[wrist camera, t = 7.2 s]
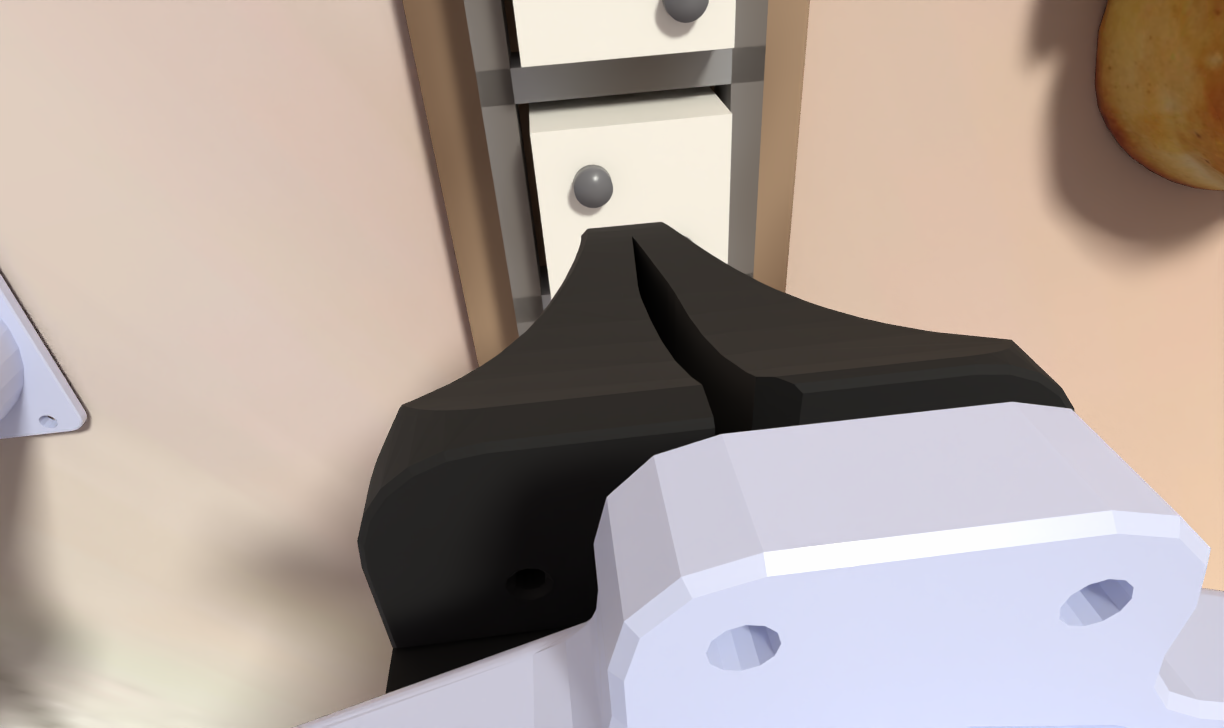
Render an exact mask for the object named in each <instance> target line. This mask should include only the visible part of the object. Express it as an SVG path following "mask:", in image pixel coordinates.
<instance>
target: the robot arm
mask: <svg viewBox="0 0 1224 728" xmlns="http://www.w3.org/2000/svg"><path fill="white" fill-rule="evenodd" d="M48 416H51V417H53V418H55V419H56V420H53V419H51V418H49V417H48ZM86 419H87V414H86V411H85V410H84V408H83V407H82V405H81V403H80V402H79V400H78V399H77V397H76V395H75V394H74V392H73V390H72V389H71V387H70V386H69V384H68V382H67V381H66V379H65V378H64V376H63V374H62V373H61V371H60V369H59V368H58V366H57V365H56V363H55V361H54V360H53V358H52V357H51V355H50V353H49V352H48V350H47V348H46V347H45V345H44V344H43V342H42V340H41V339H40V337H39V336H38V334H37V332H36V331H35V329H34V327H33V326H32V324H31V323H30V321H29V319H28V318H27V316H26V315H25V313H24V311H23V310H22V308H21V306H20V305H19V303H18V302H17V300H16V298H15V297H14V295H13V294H12V292H11V290H10V289H9V287H8V285H7V284H6V282H5V281H4V279H3V277H2V276H1V274H0V439H5V438H14V437H23V436H32V435H41V434H50V433H58V432H67V431H74V430H78V429H79V428H80V427H81V426H82V425H83V424H84V423H85V421H86ZM357 542H358V548H359V553H360V559H361V565H362V569H363V571H364V574H365V576H366V579H367V582H368V584H369V587H370V589H371V592H372V595H373V597H374V600H375V603H376V605H377V608H378V610H379V613H380V616H381V618H382V621H383V623H384V626H385V629H386V631H387V634H388V636H389V639H390V642H391V644H392V647H393V651H392V658H391V664H390V670H389V676H388V682H387V689H386V694H384V695H381V696H379V697H376V698H373V699H370V700H368V701H365V702H362V703H359V704H356V705H354V706H351V707H348V708H345V709H343V710H340V711H337V712H334V713H331V714H329V715H326V716H323V717H320V718H317V719H315V720H312V721H309V722H306V723H304V724H301V725H298V726H295V727H292V728H1224V591H1220V590H1213V589H1206V588H1202V584H1203V580H1204V576H1205V573H1206V569H1207V564H1208V559H1209V555H1210V550H1211V548H1210V547H1209V546H1208V545H1207V544H1206V543H1205V542H1204V541H1203V539H1202V538H1201V537H1200V536H1199V535H1198V534H1197V533H1196V532H1195V531H1194V530H1193V529H1192V528H1191V527H1190V526H1189V525H1188V524H1187V523H1186V522H1185V520H1184V519H1183V518H1182V517H1181V516H1180V515H1179V514H1178V513H1177V512H1176V511H1175V510H1174V509H1173V508H1172V507H1171V506H1170V505H1169V504H1168V503H1167V502H1166V501H1165V500H1163V499H1162V498H1161V497H1160V496H1159V495H1158V494H1157V493H1156V492H1155V491H1154V490H1153V489H1152V488H1151V487H1150V486H1149V485H1148V484H1147V483H1146V482H1145V481H1144V480H1143V479H1142V478H1141V477H1140V476H1139V475H1138V474H1137V473H1136V472H1135V471H1134V470H1133V469H1132V468H1131V467H1130V466H1129V465H1128V464H1127V463H1126V462H1125V461H1124V460H1123V459H1122V458H1121V457H1120V456H1119V455H1118V454H1117V453H1116V452H1115V451H1114V450H1113V449H1112V448H1111V447H1109V446H1108V445H1107V444H1106V443H1105V442H1104V441H1103V440H1102V439H1101V438H1100V437H1099V436H1098V435H1097V434H1096V433H1095V432H1094V431H1093V430H1092V429H1091V428H1090V427H1089V426H1088V425H1087V424H1086V423H1085V422H1084V421H1083V420H1082V419H1081V418H1080V417H1079V416H1078V415H1077V414H1076V413H1075V412H1074V408H1073V406H1072V404H1071V403H1070V401H1069V399H1068V398H1067V396H1066V394H1065V393H1064V391H1063V389H1062V388H1061V387H1060V386H1059V385H1058V384H1057V383H1056V382H1055V381H1054V380H1053V379H1052V378H1051V377H1050V376H1049V375H1048V374H1047V373H1046V372H1045V371H1044V370H1043V369H1042V368H1041V367H1039V366H1038V365H1037V364H1036V363H1035V362H1034V361H1033V360H1032V359H1031V358H1030V357H1029V356H1028V355H1027V354H1026V353H1025V352H1024V351H1023V350H1022V349H1021V348H1020V347H1019V346H1018V345H1017V344H1015V343H1014V342H1013V341H1012V340H1008V339H998V338H988V337H978V336H968V335H958V334H948V333H938V332H931V331H924V330H919V329H913V328H908V327H902V326H896V325H891V324H886V323H881V322H877V321H872V320H868V319H863V318H859V317H856V316H852V315H849V314H845V313H842V312H838V311H835V310H831V309H828V308H824V307H821V306H818V305H815V304H812V303H809V302H807V301H804V300H801V299H799V298H796V297H794V296H791V295H789V294H786V293H784V292H781V291H779V290H776V289H774V288H772V287H770V286H768V285H765V284H763V283H761V282H759V281H757V280H755V279H754V278H752V277H750V276H748V275H746V274H744V273H742V272H740V271H738V270H737V269H735V268H733V267H731V266H730V265H728V264H726V263H725V262H723V261H721V260H720V259H718V258H716V257H715V256H713V255H712V254H710V253H709V252H707V251H705V250H704V249H702V248H701V247H699V246H698V245H696V244H695V243H693V242H692V241H691V240H689V239H688V238H686V237H685V236H683V235H682V234H680V233H679V232H678V231H676V230H675V229H673V228H672V227H670V226H669V225H667V224H665V223H663V222H653V223H643V224H632V225H621V226H611V227H600V228H589V229H587V230H586V231H585V232H584V233H583V234H582V235H581V243H580V246H579V249H578V252H577V255H576V257H575V260H574V262H573V264H572V266H571V268H570V270H569V272H568V274H567V276H566V278H565V279H564V281H563V283H562V285H561V286H560V288H559V289H558V291H557V292H556V294H555V295H554V297H553V298H552V300H551V301H550V303H549V304H548V306H547V307H546V308H545V310H544V311H543V312H542V314H541V315H540V316H539V317H538V318H537V320H536V321H535V322H534V323H533V324H532V325H531V326H530V327H529V328H528V330H527V331H526V332H525V333H523V334H522V335H521V336H520V337H519V338H517V339H516V340H515V341H514V342H513V343H511V344H510V345H509V346H508V347H507V348H505V349H504V350H503V351H502V352H501V353H499V354H498V355H497V356H495V357H494V358H492V359H491V360H489V361H488V362H486V363H485V364H483V365H482V366H480V367H479V368H477V369H475V370H474V371H472V372H470V373H469V374H467V375H465V376H464V377H462V378H460V379H458V380H456V381H454V382H452V383H450V384H448V385H446V386H444V387H442V388H439V389H437V390H435V391H433V392H431V393H429V394H426V395H424V396H422V397H420V398H418V399H415V400H413V401H411V402H408V403H405V404H403V405H402V406H401V407H400V409H399V411H398V413H397V415H396V418H395V420H394V422H393V424H392V427H391V429H390V431H389V433H388V436H387V438H386V440H385V442H384V445H383V447H382V449H381V452H380V454H379V456H378V459H377V462H376V464H375V468H374V471H373V474H372V477H371V481H370V485H369V490H368V494H367V499H366V504H365V508H364V513H363V518H362V522H361V527H360V531H359V536H358V541H357Z"/></svg>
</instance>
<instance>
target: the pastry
mask: <svg viewBox="0 0 1224 728" xmlns="http://www.w3.org/2000/svg"><path fill="white" fill-rule="evenodd" d="M1095 88H1096V95H1097V102H1098V107H1099V110H1100V112H1101V114H1102V117H1103V119H1104V121H1105V124H1106V126H1107V128H1108V129H1109V130H1110V132H1111V133H1112V135H1113V136H1114V138H1115V139H1116V140H1117V142H1118V143H1119V144H1120V146H1121V147H1122V148H1123V149H1124V150H1125V151H1126V152H1127V153H1128V154H1129V155H1130V156H1131V157H1132V158H1133V159H1134V160H1136V161H1137V162H1139V163H1140V164H1142V165H1143V166H1145V167H1146V168H1147V169H1149V170H1151V171H1152V172H1154V173H1156V174H1158V175H1160V176H1162V177H1164V178H1166V179H1168V180H1170V181H1173V182H1175V183H1179V184H1182V185H1186V186H1189V187H1193V188H1199V189H1207V190H1222V191H1224V0H1108V2H1107V6H1106V10H1105V13H1104V16H1103V19H1102V21H1101V25H1100V28H1099V32H1098V44H1097V58H1096V74H1095Z"/></svg>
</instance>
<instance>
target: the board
mask: <svg viewBox="0 0 1224 728" xmlns="http://www.w3.org/2000/svg"><path fill="white" fill-rule="evenodd" d="M402 2H403V6H404V11H405V16H406V21H407V26H408V30H409V35H410V40H411V45H412V49H413V54H414V59H415V64H416V69H417V73H418V78H419V83H420V88H421V93H422V97H423V102H424V107H425V112H426V117H427V121H428V126H429V131H430V136H431V141H432V145H433V150H434V155H435V160H436V164H437V169H438V174H439V179H440V184H441V188H442V193H443V198H444V203H445V208H446V212H447V217H448V222H449V227H450V232H451V236H452V241H453V246H454V251H455V256H456V260H457V265H458V270H459V275H460V279H461V284H462V289H463V294H464V299H465V303H466V308H467V313H468V318H469V323H470V327H471V332H472V337H473V342H474V347H475V351H476V356H477V361H478V366H479V367H480V366H482V365H483V364H485V363H486V362H488V361H489V360H491V359H492V358H494V357H495V356H497V355H498V354H499V353H501V352H502V351H503V350H504V349H505V348H507V347H508V346H509V345H510V344H511V343H513V342H514V341H515V340H516V339H517V338H519V337H520V336H521V335H522V334H523V333H525V332H526V331H527V330H528V328H529V327H530V326H531V325H532V324H533V323H534V322H535V321H536V320H537V318H538V317H539V316H540V315H541V314H542V312H543V311H544V310H545V308H546V307H547V306H548V304H549V303H550V301H551V292H550V285H549V277H548V269H547V261H546V254H545V246H544V238H543V230H542V223H541V215H540V207H539V200H538V192H537V184H536V176H535V169H534V161H533V153H532V145H531V138H530V120H529V103H533V102H544V101H554V100H565V99H575V98H586V97H597V96H607V95H618V94H628V93H639V92H650V91H660V90H671V89H681V88H692V87H703V86H709V87H710V88H711V89H712V91H713V92H714V93H715V94H716V95H717V96H718V98H719V99H720V100H721V101H722V102H723V103H724V105H725V106H726V107H727V108H728V109H729V110H730V112H731V113H732V140H731V172H730V204H729V237H728V265H730V266H731V267H733V268H735V269H737V270H738V271H740V272H742V273H744V274H746V275H748V276H750V277H752V278H754V279H755V280H757V281H759V282H761V283H763V284H765V285H768V286H770V287H772V288H774V289H776V290H779V291H781V292H784V293H785V290H786V278H787V266H788V254H789V242H790V230H791V218H792V206H793V195H794V183H795V171H796V159H797V147H798V135H799V123H800V111H801V99H802V88H803V76H804V64H805V52H806V40H807V28H808V16H809V4H810V0H736V11H735V43H734V48H727V49H716V50H705V51H694V52H683V53H673V54H662V55H651V56H640V57H629V58H618V59H607V60H596V61H585V62H575V63H564V64H553V65H542V66H531V67H521V60H520V53H519V45H518V37H517V29H516V22H515V14H514V6H513V0H402Z"/></svg>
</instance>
